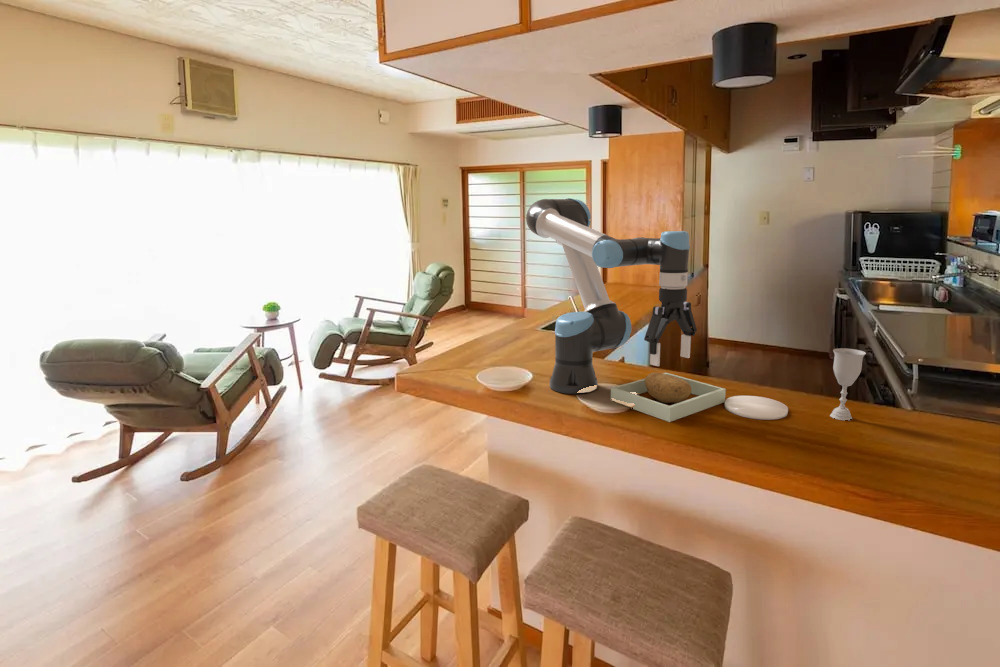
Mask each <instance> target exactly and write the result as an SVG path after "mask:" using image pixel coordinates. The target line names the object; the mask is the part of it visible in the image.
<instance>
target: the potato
mask: <svg viewBox="0 0 1000 667" xmlns="http://www.w3.org/2000/svg"><path fill="white" fill-rule="evenodd" d="M644 379H645V386H646V388H647V390H648V391H647V392H648V394H649V395H650V396H652V397H653V398H654V399H656V401H658V402H660V403H662V404H669V403H675V404H677V403H680V402H683V401H685V399H686V400H687V398H688V397H689V396H690V395H691V391H692V389H691V386H690V385H689V384H688V382H686V381H685V380H683V379H679V378H677V377H674V376H671V375H666V374H663V372H662V373H661V372H658V371H655V372H651V373H648V375H646V376H645V378H644Z"/></svg>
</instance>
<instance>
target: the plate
mask: <svg viewBox="0 0 1000 667" xmlns="http://www.w3.org/2000/svg"><path fill="white" fill-rule="evenodd" d="M724 408H725V410H727V411H728V412H729V413H731V414H734V415H737V416H739V417H743V418H747V419H751V420H752V419H753V420H761V421H762V420H763V421H764V420H765V421H767V420H768V421H771V420H779V419H784V418H786V417H787V416H788V414H789V413H788V412H789V407H788V406H787V405H786V404H785V403H783V402H781V401H778V400H775V399H772V398H769V397H764V396H757V395H734V396H730V397H728V398H725V402H724Z"/></svg>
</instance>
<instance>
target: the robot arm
mask: <svg viewBox="0 0 1000 667" xmlns="http://www.w3.org/2000/svg"><path fill="white" fill-rule="evenodd" d="M525 221H526V225H527V226H528V229H529V230H530V231H531V232H532V233H533V234H535V235H537V236H539V237H541V238H544V239H549V238H550V239H551V240H552V239H553V240H554V241H556V244H558V245H560V246H562V249H563V251H564V254H565V257H566V260H567V263H568V267H570V271H571V274H572V277H573V279H574V282H575V286H576V288H577V291H578V293H579V296H580V299H581V302H582V305H583V307H584V310H583V311H573V312H567V313H564V314H561V315H560V316H558V317H557V319H556V321H555V328H554V335H555V336H554V337H555V347H554V348H555V350H554V353H555V354H554V355H555V357H554V358H555V359H554V361H555V363H554V366H553V370H552V374H551V376H550V378H549V388H550V389H551V390H552V391H555V392H557V393H562V394H568V395H577V394H576V393H577V392H578V391H579V390H581V389H583V388H586V387H589V386H594V385H597V386H598V381H599V380H598V378H597V376H596V372H595V368H594V365H593V353H594V352H599V351H605V350H610V349H611V350H613V349H616V348H619V347H621V346H624V345H625V344H627V342H628V341H629V339H630V337H631V336H630V335H631V334H632V322H631V319H630V317H629V314H628V313H625V312H624V311H623V310H619V308H618V306H617V303H616V302H614V301H612V300H610V298H609V295H608V292H607V290H606V287H605V284H604V281H603V278H602V276H601V273H600V270H599V268H603V269H604V268H607V269H613V268H621V267H630V266H641V265H652V266H653V265H657V266H659V275H658V276H659V278H658V279H659V281H658V285H659V287H660V288H659V289H658V301H659V302H660V303H661V306H656V305H654V306H653V307H652V308H653V309H652V315H651V318H650V321H649V324H648V327H647V330H646V332H645V335H644V341H646V342H649V354H650V355H649V365H651V366H655V367H660V365H661V364H660V363H661V359H660V358H661V342H660V339H661V338H662V335H663V334H664V332H665V329H666V328H667V326H668V324H670V323H671V322H674V321H676V323H677V325H678V326H679V328H680V330H681V331H682V333H683V334H681V336H680V354H679V355H680V357H682V358H686V359H689V358H690V357H691V345H692V337H694V336H695V335H696V333H697V330H698V328H697V326H696V322H695V319H694V315H693V312H692V303H691V302H689V301H687V300H688V289H687V288H686V287H688V273H689V258H690V248H691V247H690V233H689V232H688V231H686V230H668V231H666V230H665V231H662V232H661V234H660V238H656V237H655V238H654V237H633V238H623V239H619V238H615V237H612V236H609V235H608V234H606V233H603V232H601V231H599V230H596V229H594V228H593V227H592V228H591V227H590V225H591V212H590V209H589V207H588V205H587V204H586V203H585V202H584V201H583V200H580V199H577V198H576V199H574V198H570V197H568V198H544V199H540V200H536V201H535V202H533V203H532V204H531V205H530V206H529V208H528V210H527V213H526V215H525ZM598 267H599V268H598Z"/></svg>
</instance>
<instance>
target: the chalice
mask: <svg viewBox="0 0 1000 667" xmlns="http://www.w3.org/2000/svg"><path fill="white" fill-rule="evenodd" d="M832 351H833V353H834V354H833V355H834V358H833V366H832V369H833V374H834V376H835V379H836V380H837V383H838V384H839V385H840V386H842V389H841V391H840V394H841V397H840V398H839V399H838V400H839V401H840V404H839V406H837V407H835V408H833V410H832V411H831V413H830V414H829V417H831V418H832V419H834V418H835V420H839V421H845V420H848V421H851V420H850V419H852V420H853V417H852V415H851V411H850V410H849V408H848V407H846V402H847V401H848V399H847V398H846V397H847V395H848V392H847V390H848V387H850V386H851V387H852V385H853V384H854V383H855V381H857V379H858V377H859V376H860V374H861V372H862V367H863V359H864V357H865V355H866V354H867V353H866V352H865V351H864V350H859V349H855V348H854V349H853V348H846V347H845V348H842V347H840V348H834V349H832Z"/></svg>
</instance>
